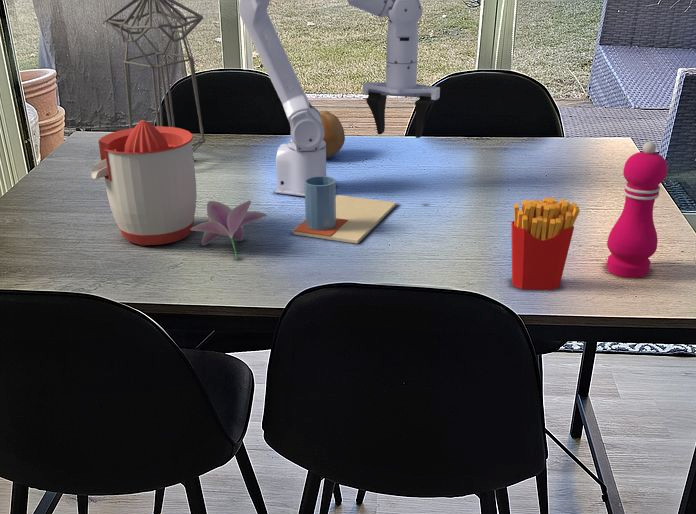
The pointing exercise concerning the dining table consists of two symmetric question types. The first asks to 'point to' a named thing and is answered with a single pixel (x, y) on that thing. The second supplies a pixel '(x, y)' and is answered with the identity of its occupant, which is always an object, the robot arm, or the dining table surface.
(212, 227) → the lily
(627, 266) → the pepper mill
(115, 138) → the citrus juicer
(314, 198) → the tumbler
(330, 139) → the onion
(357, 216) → the cutting board
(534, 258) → the french fries
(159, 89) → the geometric lantern
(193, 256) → the dining table surface
